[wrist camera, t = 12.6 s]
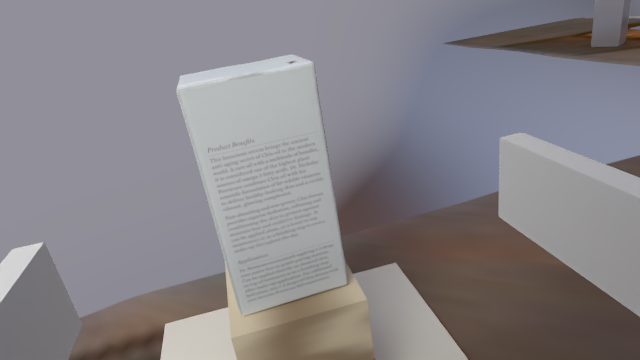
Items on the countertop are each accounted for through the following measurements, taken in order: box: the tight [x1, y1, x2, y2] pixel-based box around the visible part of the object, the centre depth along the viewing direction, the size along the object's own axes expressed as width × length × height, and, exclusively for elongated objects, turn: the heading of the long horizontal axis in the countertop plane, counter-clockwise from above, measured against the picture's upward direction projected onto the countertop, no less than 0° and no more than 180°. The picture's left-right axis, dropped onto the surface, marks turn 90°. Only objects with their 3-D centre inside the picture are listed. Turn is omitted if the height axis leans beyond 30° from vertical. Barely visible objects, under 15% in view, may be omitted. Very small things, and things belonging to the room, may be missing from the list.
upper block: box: [225, 261, 375, 360], centre depth 25 cm, size 7×7×4 cm
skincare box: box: [176, 55, 348, 316], centre depth 22 cm, size 6×4×12 cm
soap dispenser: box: [591, 0, 631, 47], centre depth 115 cm, size 6×9×22 cm
